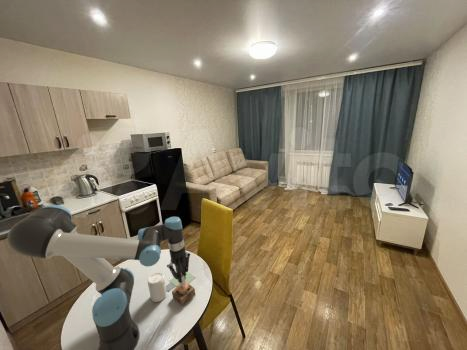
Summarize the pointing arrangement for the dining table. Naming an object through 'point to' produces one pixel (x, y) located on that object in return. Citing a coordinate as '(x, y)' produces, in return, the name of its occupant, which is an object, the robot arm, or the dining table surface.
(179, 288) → the plunger
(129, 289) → the robot arm
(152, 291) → the beverage can
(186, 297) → the housing
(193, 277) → the pad
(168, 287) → the pad
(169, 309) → the dining table surface
